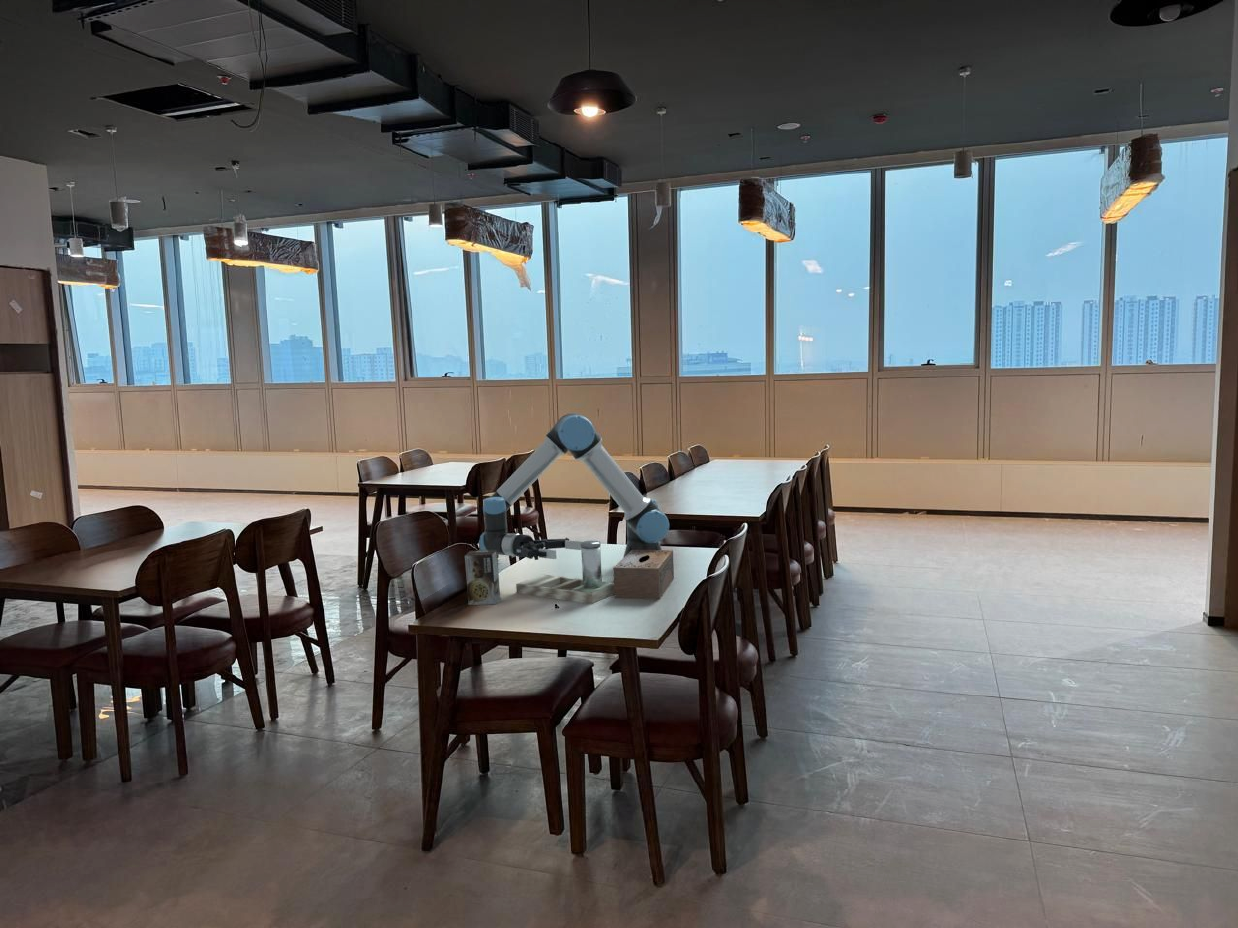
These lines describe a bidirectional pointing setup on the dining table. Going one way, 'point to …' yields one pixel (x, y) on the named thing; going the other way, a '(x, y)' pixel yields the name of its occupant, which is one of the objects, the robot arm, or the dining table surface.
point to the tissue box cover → (643, 574)
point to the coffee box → (482, 577)
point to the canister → (591, 564)
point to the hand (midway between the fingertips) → (568, 550)
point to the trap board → (564, 589)
